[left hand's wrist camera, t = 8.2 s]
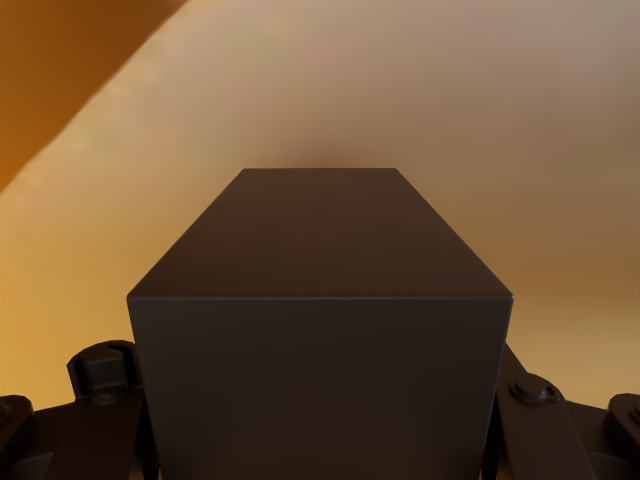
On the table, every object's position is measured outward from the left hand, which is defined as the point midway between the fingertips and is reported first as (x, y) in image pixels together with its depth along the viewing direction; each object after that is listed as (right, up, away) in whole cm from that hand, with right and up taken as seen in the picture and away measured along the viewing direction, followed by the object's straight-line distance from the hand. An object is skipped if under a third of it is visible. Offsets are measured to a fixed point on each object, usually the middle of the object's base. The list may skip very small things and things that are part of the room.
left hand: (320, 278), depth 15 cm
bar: (0, -13, +6) cm, 14 cm away
